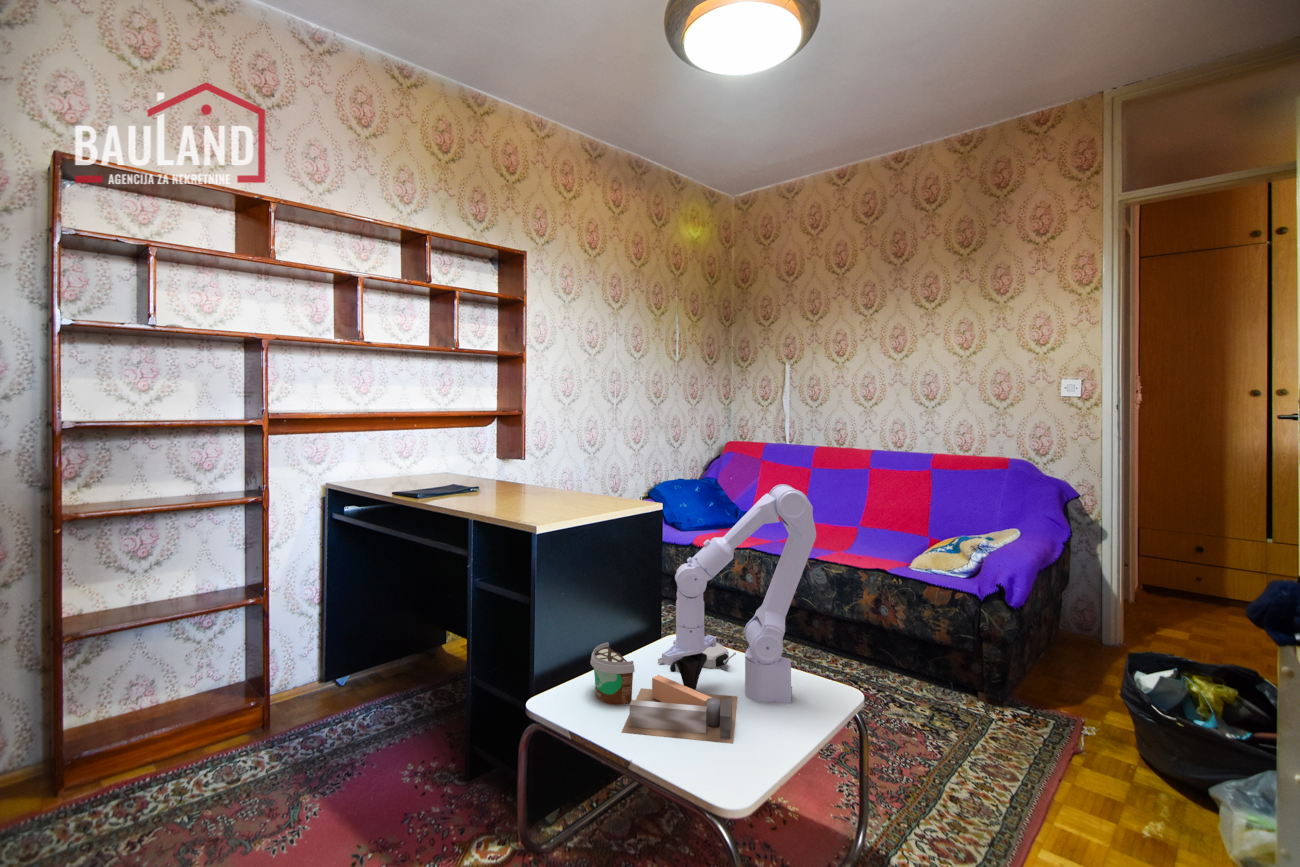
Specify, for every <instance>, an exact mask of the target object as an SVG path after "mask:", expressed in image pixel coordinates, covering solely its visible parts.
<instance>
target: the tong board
mask: <svg viewBox="0 0 1300 867" xmlns="http://www.w3.org/2000/svg"><path fill="white" fill-rule="evenodd" d="M704 694H705V695H707V696H710V697H712V698H716V699H719V700H720V724H719V725H718V726H710V725H707V706H696V705H685V704H674V703H663V702H661V701H659V700H657V699H654V698H652V688H640V689H639V692H638V694H637V696H636V699H632V700H631V703H630V704H628V705H629V708H628V709H629V710H628V711H629V715H628V717H627V719H626V721H625V722H624V725H623V727H622V730H621V732H620V733H622V734H630V735H640V736H641V735H642V736H649V737H651V736H652V737H660V738H661V737H662V738H670V739H681V740H690V741H691V740H692V741H700V742H701V741H703V742H713V743H719V744H720V743H721V744H731V745H733V744H734V738H735V729H736V728H735V727H736V719H737V718H736V716H737V710H738V709H737V708H738V707H737V705H738V698H739V697H738V696H737V695H736V696H734V695H723V694H715V693H714V694H713V693H712V694H710V693H704Z"/></svg>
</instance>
